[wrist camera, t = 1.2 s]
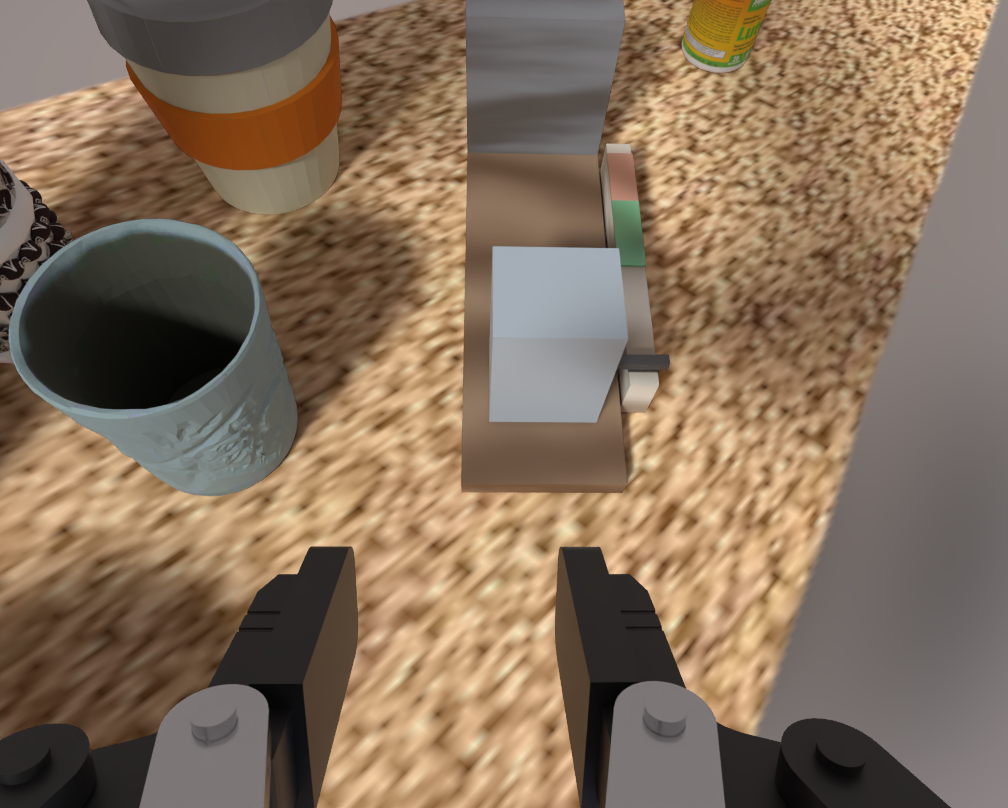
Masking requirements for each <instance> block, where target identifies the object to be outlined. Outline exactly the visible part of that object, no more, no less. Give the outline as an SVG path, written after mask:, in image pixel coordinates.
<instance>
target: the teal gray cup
mask: <svg viewBox="0 0 1008 808" xmlns="http://www.w3.org/2000/svg"><path fill="white" fill-rule="evenodd" d="M9 345H10V353H11V357H12V359H13V362H14V364H15V367H16V369H17V371H18V373H19V375H20V376H21V378H22V379H23V381H24V382H25V383H26V384H27V385H28V386H29V387H30V389H31V390H32V391H33V392H34V393H36V394H37V395H38V396H40V397H41V398H43V399H44V400H45V401H47V402H48V403H49V404H51V405H52V406H54V407H55V408H57V409H58V410H60V411H61V412H63V413H64V414H66V415H67V416H69V417H70V418H72V419H73V420H74V421H76V422H77V423H78V424H80V425H81V426H83V427H85V428H87V429H90V430H92V431H94V432H96V433H98V434H100V435H102V436H104V437H105V438H107V439H108V440H109V441H110V442H112V443H113V444H114V445H115V446H116V447H117V448H118V449H119V450H120V451H121V453H123V454H124V455H126V456H128V457H131V458H133V459H134V460H135V461H137V462H138V463H139V464H140V465H141V466H143V467H144V468H145V469H146V470H148V471H149V472H150V473H152V474H153V475H154V476H156V477H157V478H159V479H161V480H162V481H164V482H165V483H167V484H168V485H170V486H172V487H173V488H175V489H177V490H180V491H182V492H185V493H189V494H193V495H202V496H220V495H226V494H232V493H236V492H239V491H242V490H244V489H247V488H249V487H251V486H253V485H254V484H256V483H258V482H260V481H261V480H263V479H264V478H265V477H267V476H268V475H269V474H270V473H271V472H272V471H274V470H275V469H276V468H277V467H278V466H279V465H280V463H281V462H282V461H283V459H284V458H285V456H286V455H287V453H288V452H289V450H290V448H291V446H292V443H293V441H294V438H295V435H296V430H297V423H298V411H297V404H296V400H295V396H294V393H293V390H292V387H291V384H290V382H289V379H288V374H287V370H286V367H285V365H284V363H283V360H284V359H283V357H282V354H281V350H280V347H279V344H278V341H277V339H276V334H275V332H274V330H273V329H272V328H271V319H270V317H269V313H268V309H267V305H266V302H265V298H264V294H263V291H262V287H261V284H260V281H259V277H258V274H257V273H256V271H255V269H254V267H253V265H252V263H251V262H250V261H249V259H248V258H247V257H246V256H245V254H244V253H243V252H242V251H241V250H240V249H239V248H238V247H237V246H236V245H235V244H234V243H233V242H231V241H230V240H228V239H227V238H225V237H224V236H222V235H220V234H219V233H217V232H216V231H213V230H211V229H208V228H206V227H203V226H201V225H196V224H192V223H187V222H182V221H178V220H173V219H139V220H131V221H125V222H121V223H117V224H113V225H109V226H106V227H103V228H100V229H98V230H95V231H93V232H90V233H88V234H86V235H84V236H82V237H80V238H78V239H76V240H74V241H73V242H71V243H69V244H67V245H66V246H64V247H63V248H61V249H60V250H59V251H57V252H56V253H55V254H54V255H53V256H51V257H50V258H49V259H48V260H47V261H46V262H44V263H43V264H42V265H41V266H40V267H39V269H38V270H37V271H36V272H35V273H34V274H33V275H32V277H31V278H30V279H29V280H28V282H27V284H26V285H25V287H24V289H23V290H22V292H21V294H20V295H19V297H18V299H17V300H16V303H15V307H14V310H13V313H12V316H11V320H10V324H9Z"/></svg>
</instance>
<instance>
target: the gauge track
mask: <svg viewBox="0 0 1008 808" xmlns="http://www.w3.org/2000/svg"><path fill="white" fill-rule="evenodd" d="M624 25H625V14H624V6H623V0H466V74H467V144H468V159H467V211H466V263H465V315H464V367H463V419H462V471H461V487H462V492H564V493H622V492H623V490H624V489H625V487H626V485H627V474H626V463H625V452H624V441H623V430H622V419H621V412H646V410H647V408H648V406H649V404H650V402H651V400H652V398H653V396H654V394H655V392H656V391H657V389H658V387H659V380H658V373H659V370H634V369H617V370H616V372H615V375H614V378H613V380H612V383H611V385H610V388H609V391H608V393H607V396H606V399H605V401H604V404H603V407H602V409H601V412H600V414H599V417H598V420H597V422H596V423H588V422H489V340H490V310H491V280H492V251H493V246H506V247H567V248H619V253H620V263H621V273H622V282H623V292H624V302H625V312H626V322H627V332H628V341H627V343H626V346H625V349H624V351H623V354H639V355H655V346H654V338H653V330H652V321H651V313H650V305H649V296H648V288H647V280H646V271H645V267H646V258H645V250H644V241H643V233H642V225H641V217H640V208H639V200H638V192H637V184H636V175H635V167H634V159H633V154H631V146H630V144H606V147H605V152H604V156H603V161H602V165H601V170H600V175H599V167H598V156H597V155H598V150H599V145H600V141H601V136H602V131H603V126H604V121H605V117H606V112H607V107H608V102H609V97H610V92H611V88H612V83H613V78H614V73H615V68H616V64H617V59H618V54H619V49H620V44H621V40H622V35H623V30H624Z"/></svg>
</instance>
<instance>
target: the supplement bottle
mask: <svg viewBox="0 0 1008 808" xmlns="http://www.w3.org/2000/svg"><path fill="white" fill-rule="evenodd" d="M770 1H771V0H694V2H693V5H692V8H691V12H690V15H689V18H688V22H687V25H686V29H685V32H684V35H683V39H682V51H683V53H684V55H685V57H686V58H687V60H688V61H689V62H690V63H692V64H693V65H694V66H696V67H698V68H700V69H702V70H705V71H709V72H715V73H726V72H731V71H734V70H736V69H738V68H740V67H741V66H742V65H743V64H744V63H745V62H746V60H747V58H748V56H749V54H750V51H751V49H752V46H753V44H754V41H755V39H756V36H757V34H758V31H759V29H760V27H761V24H762V21H763V19H764V16H765V14H766V11H767V9H768V6H769V4H770Z"/></svg>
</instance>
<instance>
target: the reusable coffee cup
mask: <svg viewBox="0 0 1008 808" xmlns="http://www.w3.org/2000/svg"><path fill="white" fill-rule="evenodd" d="M87 1H88V3H89V6H90V8H91V11H92V13H93V16H94V18H95V21H96V23H97V26H98V28H99V31H100V33H101V34H102V36H103V37H104V38H105V40H106V41H107V43H108V44H109V45H110V46H111V47H112V48H113V49H114V50H116V51H117V52H118V53H120V54H121V55H122V56H123V57H124V58H125V59H126V68H127V71H128V73H129V76H130V79H131V81H132V82H133V84H134V85H135V87H136V88H137V90H138V91H139V92H140V94H141V95H142V97H143V98H144V100H145V101H146V102H147V104H148V105H149V107H150V108H151V110H152V111H153V112H154V114H155V115H156V117H157V118H158V120H159V121H160V122H161V124H162V125H163V127H164V128H165V130H166V131H167V132H168V134H169V135H170V137H171V138H172V139H173V141H174V142H175V144H176V145H177V146H178V147H179V148H180V149H181V150H182V151H184V152H185V153H186V154H187V155H188V156H190V157H192V158H194V160H195V161H196V163H197V164H198V166H199V167H200V169H201V170H202V172H203V173H204V174H205V176H206V177H207V179H208V180H209V182H210V183H211V185H212V186H213V188H214V189H215V190H216V192H217V193H218V195H219V196H220V197H221V198H222V199H223V200H225V201H226V202H227V203H228V204H230V205H232V206H234V207H236V208H237V209H240V210H243V211H246V212H249V213H256V214H280V213H286V212H291V211H294V210H297V209H300V208H303V207H305V206H307V205H309V204H311V203H313V202H314V201H315V200H317V199H318V198H320V197H321V196H322V195H323V194H324V193H325V192H326V191H327V190H328V189H329V188H330V187H331V185H332V184H333V182H334V180H335V179H336V176H337V173H338V170H339V160H340V159H339V144H338V130H337V121H338V118H339V115H340V112H341V104H342V93H341V76H340V59H339V42H338V35H337V30H336V26H335V24H334V22H333V20H332V19H331V17H330V14H329V11H330V8H331V5H332V1H333V0H87Z"/></svg>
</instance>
